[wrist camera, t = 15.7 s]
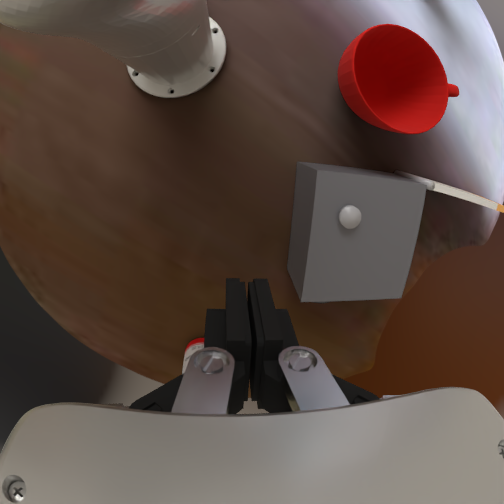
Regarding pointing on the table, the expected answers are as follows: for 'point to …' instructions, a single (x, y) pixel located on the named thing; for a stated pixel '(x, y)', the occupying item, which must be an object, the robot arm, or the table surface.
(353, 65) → the ceramic cup
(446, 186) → the side door
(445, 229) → the table surface
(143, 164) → the table surface
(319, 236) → the block
